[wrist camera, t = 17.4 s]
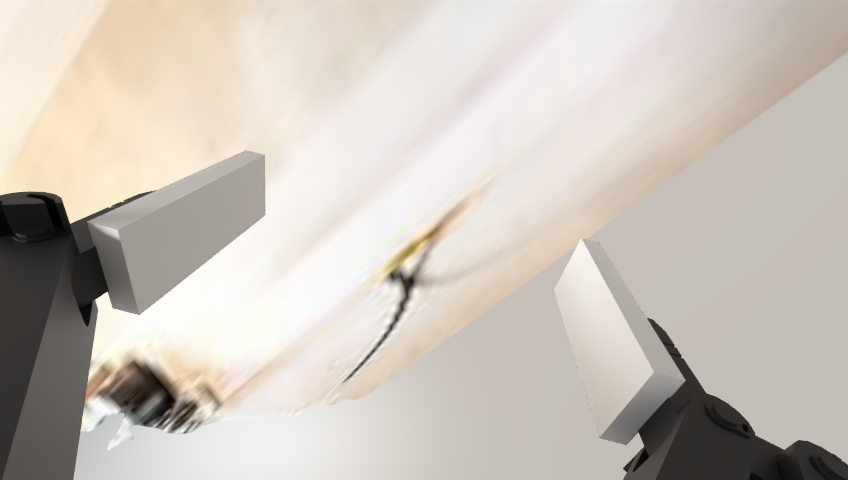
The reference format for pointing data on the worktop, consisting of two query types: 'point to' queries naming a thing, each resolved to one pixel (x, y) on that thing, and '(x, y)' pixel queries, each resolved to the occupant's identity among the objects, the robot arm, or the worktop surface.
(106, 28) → the worktop surface
